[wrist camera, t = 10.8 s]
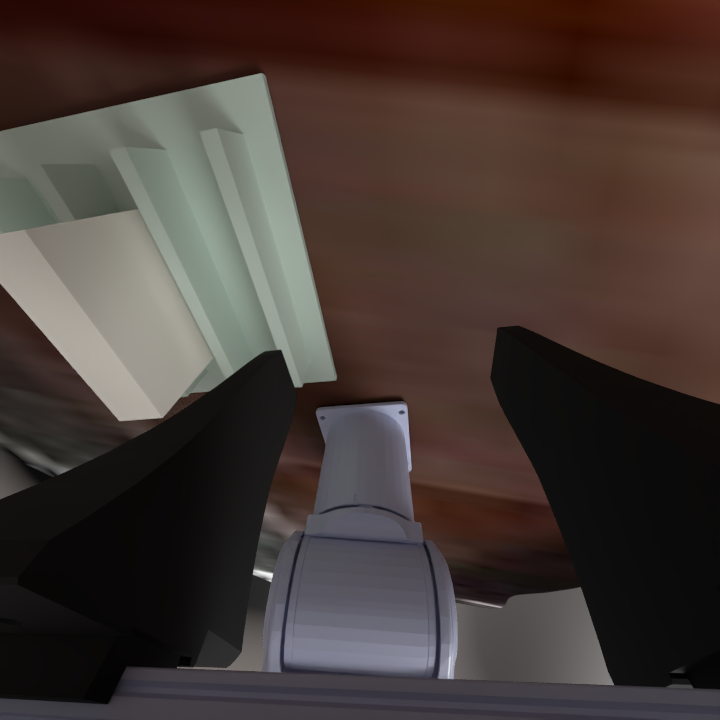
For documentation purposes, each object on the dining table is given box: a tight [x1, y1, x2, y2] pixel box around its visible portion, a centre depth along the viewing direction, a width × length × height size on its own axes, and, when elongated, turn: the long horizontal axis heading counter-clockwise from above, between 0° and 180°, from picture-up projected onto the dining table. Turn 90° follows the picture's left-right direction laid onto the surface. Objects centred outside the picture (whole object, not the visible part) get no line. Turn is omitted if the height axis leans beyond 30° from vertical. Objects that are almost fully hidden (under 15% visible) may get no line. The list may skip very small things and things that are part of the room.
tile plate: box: [0, 209, 214, 421], centre depth 16 cm, size 9×2×8 cm, turn 8°
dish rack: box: [0, 73, 337, 397], centre depth 18 cm, size 18×17×4 cm
